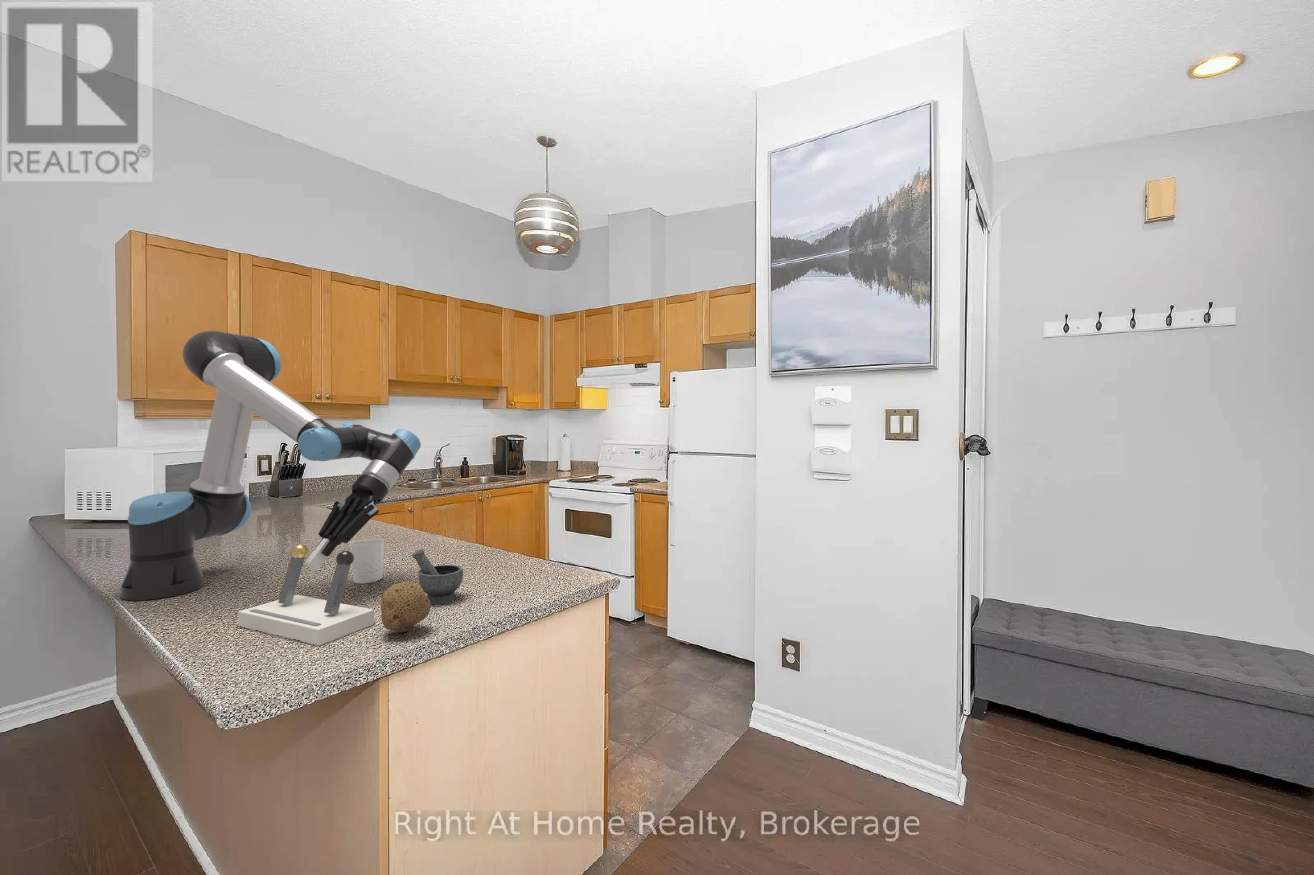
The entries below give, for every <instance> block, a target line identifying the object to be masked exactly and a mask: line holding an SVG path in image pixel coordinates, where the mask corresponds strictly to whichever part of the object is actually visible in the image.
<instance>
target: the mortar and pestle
mask: <svg viewBox="0 0 1314 875" xmlns="http://www.w3.org/2000/svg"><path fill="white" fill-rule="evenodd" d="M411 556H412V558H413V559H415V562H416V563H417V565H418V566H419V569H420V570H418V581H419V582H418V583H419V585H420V587H421V588H422V589H423V591H424V592H425V594H426V595H427V597H428V599H429V600H430V603H431V604H434V605H435V604H446V603H450V602H452V601H454V600H455V599H456V593H455V592H456V591H457V590H458V589H459V588H460V586H461V584H462V582H463V579H464V578H463V577H464V569H463V567H462V566H460V565H454V564H438V565H433V564H432V562H431V561H430V559H429V558H428V557H427V555H426V554H425V550H424V549H423V548H420V549H417V550H416V551H415V552H413V553H412V554H411Z"/></svg>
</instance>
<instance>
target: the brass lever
mask: <svg viewBox="0 0 1314 875" xmlns="http://www.w3.org/2000/svg"><path fill="white" fill-rule="evenodd" d="M308 554H309V548H308V546H306V545H305V544H302V543H300V544H299V543H298V544H296V545H294V546H292V548H291V550H290V555H291V556H290V560H289V564H288V567H287V570H286V574H285V578H284V580H283V584H282V587H281V591H280V595H279V599H278V600H279V601H278V603H282V604H292V601H293V598H294V595H296V591H297V586H298V583H299V580H300V577H301V576H300V575H301V572H302V569H303V565H304V563H305V562H304V561H305V558H306V557H307V556H308Z"/></svg>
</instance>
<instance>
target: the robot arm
mask: <svg viewBox="0 0 1314 875" xmlns="http://www.w3.org/2000/svg"><path fill="white" fill-rule="evenodd" d="M182 359H183V363H184V366H186V368H187V370H188V371H189V372H190V373H192V375H193V376H195V377H196V378H197V379H198V380H199V381H201V382H203V383H204V384H205V385H206V386H208V387H210V388H215V390H216V392H215V393H216V394H215V398H214V403H213V408H212V413H211V418H210V423H209V429H208V433H207V438H206V442H205V448H204V452H203V457H202V462H201V467H200V473H199V476H198V478H197V479H196V480H194V481H192V482H191V483H190V484H189V489H188V491H182V490H181V491H178V490H177V491H167V492H163V493H154V494H150V495H145V496H142V497H138V498H137V499H135V500H134V501H132V502H131V503H130V505H129V508H128V509H129V510H128V517H127V522H128V535H129V537H128V538H129V565H128V568H127V571H126V573H125V576H124V577H123V578H124V579H123V581H122V584H121V586H120V598H121V599H122V600H128V601H147V600H157V599H164V598H171V597H175V596H180V595H183V594H187V593H191V592H194V591H196V590H198V589H201V588H203V587H204V583H205V582H204V581H205V580H204V574H203V572H202V570H201V568H200V566H199V564H198V561H197V559H196V556H195V550H194V549H195V548H194V546H195V545H194V544H195V543H194V542H195V541H199V540H205V539H207V538H213V537H218V536H224V535H227V534H229V533H232V532H234V531H237V530H239V529H241V528H242V527H243V526H244V525H245V524H246V522H248V520H249V518H250V515H251V512H252V504H251V501H250V500H249V499H250V498H249V496H248V495H247V494H246V493H245V491H246V488H245V487H244V486H243V484H241V482H240V481H241V475H242V473H243V472H242V471H243V466H244V462H245V456H246V451H247V447H248V444H249V443H248V442H249V436H250V433H251V428H252V424H253V423H252V422H253V418H254V414H256V415H257V416H259V417H260V418H262V419H263V420H265V421H266V422H267V423H269V424H270V425H271V426H273V427H274V428H276V429H277V430H279V431H280V432H281V433H283V434H284V435H286V436H287V437H289V438H290V439H291V440H293V441H294V442H296V443H297V448H298V450H299V452H300V455H301V456H302V457H303V458H305V459H306V460H309V461H312V462H328V461H334V460H335V461H336V460H340V459H353V458H362V459H366V460H369V461H370V462H369V463H368V464H367V466H366V467H365V468H364V469H363V471H362V472H361V475H358V477H357V479H356V480H355V481H354V482H353V484H352V485H351V493H350V494H349V495H348V496H346V498H345V500H343V501H342V502H340V501H339V500H336V501H334V502H333V506H332V509H331V511H330V513H329V514H328V516H327V518H326V520H325V522H324V523H323V525H322V526H321V528H320V530H319V531H318V533H317V534H318V536H319V537H320V538H321V540H320V541H319V542H318V544H317V545H316V547H315V548H314V549H313V552H312V553H311V554H310V555H309V556H308V557H307V559H306V560H305V562H303V565H305V566H306V567H308V568H309V569H310V570H312V571H317V572H318V570H319V569H320V568H321V566H322V565H323V564H324V563H325V561H326V560H327V558H328V557H329V556H331V555H332V553H333V552H334V550H335V549H336V548H337V547H338V546H340V545H342V543H343V544H348V543H349V542H350V541H351V540H352V538H354V537H355V536H356V535H357V533H358V532H360V531H361V529H362V528H363V527H364V526H366V524H367V523H368V522H369V521H370V520H371V519H372V518H374V517H375V516H376V515H378V514H379V512H380V510H379V509H378V508H377V507H376V505H378V504H380V503H382V501H383V500H384V499H385V497H386V496H387V495H388V494H389V490H391V488H392V487H393V486H394V485H395V484H396V482H397V480H398V479H399V478H400V476H401V475H402V473H403V472H404V471H405V470H406V468H407V467H408V466H409V465H410V463H411V462H412V461H413V460H414V459H415V457H416V454H418V452H419V450H420V449H421V444H422V443H421V441H420V439H419V437H418V436H417V435H416V434H415V433H413V432H411V431H410V430H408V429H405V428H402V429H401V428H398V429H396V430H394V432H392V433H391V434H388V433H384V432H380V431H378V430H374V429H372V428H368V427H366V426H364V425H362V424H356V423H351V422H345V423H343V424H342V425H340V426H338V427H335V426H333V425H332V424H330V423H328V422H327V421H325V420H324V419H322V418H321V417H320V416H319V415H317V414H315V413H314V412H313V411H311V410H310V409H308V408H307V407H305V406H304V405H302V403H300V402H299V401H297V400H296V399H294V398H293V397H292V396H290V395H288V394H287V393H286V392H284V391H282V390H281V388H278V386H275V385H274V384H273V383H271V382H272V381H274V380H275V379H277V377H278V376H279V374H280V373H281V369H282V361H281V356H280V353H279V352H278V351H277V349H276V348H275V346H273V344H271V343H270V342H269V341H267V340H265V339H261V338H258V337H254V336H249V335H241V334H237V333H228V332H224V331H218V330H206V331H200V332H198V333H196V334H194V335H193V336H191V337H190V338H189V339H188V340H187V341H186V342H185V344H184V346H183V349H182Z"/></svg>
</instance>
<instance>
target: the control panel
mask: <svg viewBox="0 0 1314 875" xmlns="http://www.w3.org/2000/svg"><path fill="white" fill-rule="evenodd" d="M278 601H279V599H278V600H274V601H269V602H267V603H262V604H259V605H256V606H253V607H249V608H245V609H242V610H239V611H238V614H237V615H238V627H240V626H241V628H244V627H245V629H249V630H252V631H256V630H258V631H257V632H260V631H262V632H261V633H264V632H265V634H268V635H274V636H277V635H279V636H278V637H281V636H282V637H281V638H285V637H287V638H286V639H289V638H290V639H289V640H293V639H296V640H295V641H297V640H300V641H299V642H301V641H303V642H302V643H305V642H306V643H305V644H308V645H309V644H310V645H313V644H314V645H313V646H318V647H319V646H323V645H325V644H327V643H330V642H332V641H335V640H338V639H340V638H342V637H343V638H344V637H346V636H348V635H350V634H353V633H355V632H357V631H360V630H363V629H365V628H367V627H370V626H373V625H375V609H372V608H368V607H367V608H366V607H362V606H356V605H352V604H345V603H342V602H341V603H340V607H339V611H338V614H329V613H325V612H324V610H325V606H326V602H327V599H321V598H316V597H310V596H306V595H301V594H294V598H293V601H292V604H282V603H278Z"/></svg>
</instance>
